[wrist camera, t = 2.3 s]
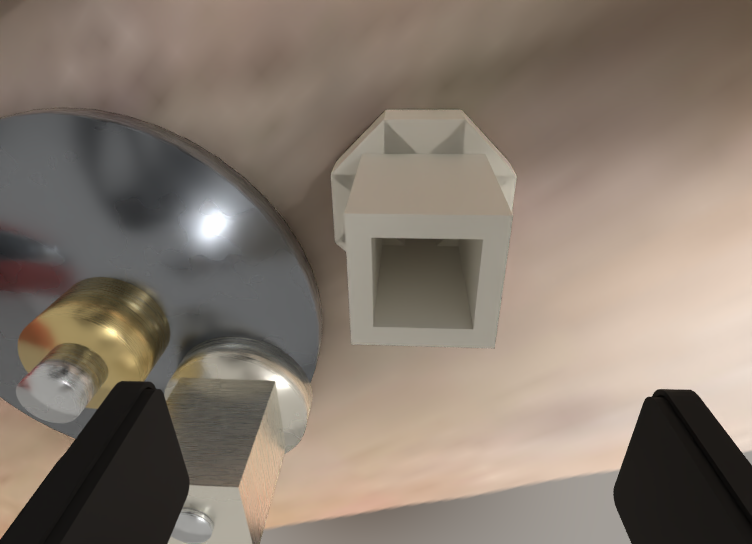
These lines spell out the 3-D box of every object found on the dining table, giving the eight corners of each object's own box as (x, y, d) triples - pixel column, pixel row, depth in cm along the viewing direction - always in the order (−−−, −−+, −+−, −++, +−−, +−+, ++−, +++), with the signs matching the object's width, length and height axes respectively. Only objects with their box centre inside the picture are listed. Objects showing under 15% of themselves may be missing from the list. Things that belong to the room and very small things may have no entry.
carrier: (304, 107, 18) (233, 186, 11) (333, 447, 28) (306, 611, 21) (-162, 108, 19) (-506, 179, 12) (20, 434, 29) (-112, 584, 22)
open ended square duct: (515, 109, 18) (568, 170, 12) (495, 268, 21) (529, 379, 15) (333, 109, 18) (294, 169, 12) (342, 265, 22) (315, 372, 16)
